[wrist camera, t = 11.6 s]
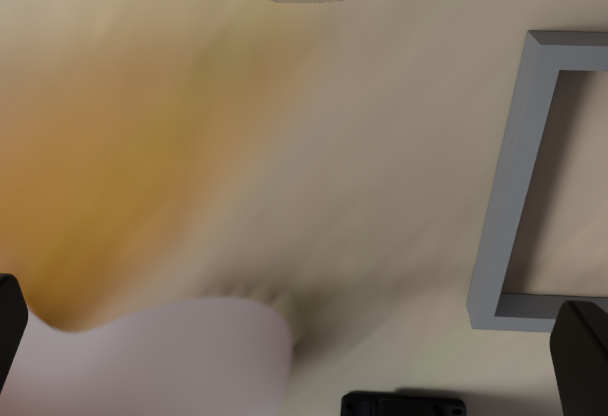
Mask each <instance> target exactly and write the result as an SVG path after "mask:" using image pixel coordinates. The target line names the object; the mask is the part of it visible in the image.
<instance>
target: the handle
mask: <svg viewBox="0 0 608 416" xmlns="http://www.w3.org/2000/svg"><path fill="white" fill-rule="evenodd" d="M272 1H274V2H275V3H326V2H334V1H341V0H272Z"/></svg>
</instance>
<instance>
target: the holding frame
mask: <svg viewBox="0 0 608 416" xmlns="http://www.w3.org/2000/svg"><path fill="white" fill-rule="evenodd" d="M559 70H580V71H608V33H604V32H560V31H527V35H526V40H525V44H524V49H523V53H522V58H521V62H520V67H519V71H518V76H517V80H516V84H515V89H514V93H513V98H512V102H511V107H510V111H509V116H508V120H507V125H506V129H505V134H504V138H503V143H502V147H501V152H500V156H499V160H498V165H497V169H496V174H495V178H494V183H493V187H492V192H491V196H490V201H489V205H488V210H487V214H486V219H485V223H484V228H483V232H482V236H481V241H480V245H479V250H478V254H477V259H476V263H475V268H474V272H473V277H472V281H471V286H470V290H469V295H468V299H467V304H466V307H467V310H468V314H469V318H470V322H471V326H472V329H484V330H505V331H527V332H548V333H551V332H552V329H553V327H554V324H555V321H556V318H557V315H558V312H559V309H560V307H561V305H562V303H563V302H564V301H565V300H569V299H572V300H589V301H592V302H594V303H595V304H597V305H598V306H599V307H601V308H602V309H603V310H605V311H606V312H607V313H608V298H591V297H568V296H545V295H522V294H500V293H501V289H502V285H503V281H504V278H505V274H506V270H507V266H508V263H509V259H510V255H511V251H512V247H513V244H514V240H515V236H516V232H517V229H518V225H519V221H520V217H521V213H522V210H523V206H524V202H525V198H526V195H527V191H528V187H529V183H530V180H531V176H532V172H533V168H534V164H535V161H536V157H537V153H538V149H539V146H540V142H541V138H542V134H543V130H544V127H545V123H546V119H547V115H548V112H549V108H550V104H551V100H552V96H553V93H554V89H555V85H556V81H557V78H558V74H559Z"/></svg>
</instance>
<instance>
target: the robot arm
mask: <svg viewBox="0 0 608 416" xmlns="http://www.w3.org/2000/svg"><path fill="white" fill-rule="evenodd" d="M27 321H28V309H27V306H26V303H25V300H24V297H23V294H22V291H21V288H20V286H19V283H18V280H17V278H16V277H15V276H14V275H12V274H9V273H0V394H1V391H2V388H3V386H4V383H5V381H6V378H7V375H8V373H9V370H10V367H11V365H12V362H13V359H14V357H15V354H16V352H17V349H18V346H19V344H20V341H21V338H22V336H23V333H24V330H25V328H26V325H27ZM550 352H551V357H552V361H553V366H554V371H555V376H556V381H557V385H558V390H559V395H560V400H561V404H562V409H563V414H564V416H608V313H607V312H606V311H605V310H603V309H602V308H601V307H599V306H598V305H597V304H595V303H594V302H592V301H589V300H572V299H569V300H565V301H564V302H563V303H562V305H561V307H560V309H559V312H558V315H557V318H556V321H555V324H554V327H553V329H552V332H551V336H550ZM466 413H467V411H466V406H465V403H464V402H463V401H461V400H457V399H438V398H419V397H400V396H380V395H361V394H347V395H344V396H343V397H342V399H341V412H340V416H466Z"/></svg>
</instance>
